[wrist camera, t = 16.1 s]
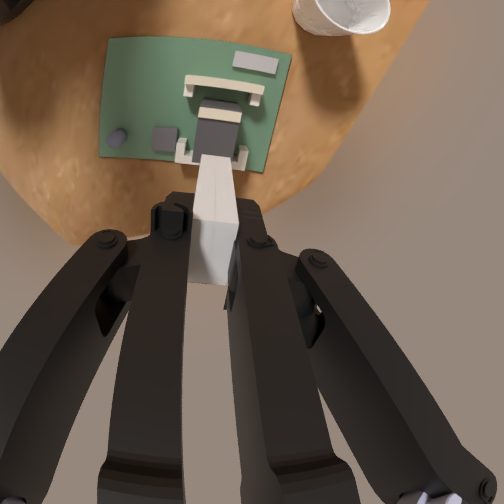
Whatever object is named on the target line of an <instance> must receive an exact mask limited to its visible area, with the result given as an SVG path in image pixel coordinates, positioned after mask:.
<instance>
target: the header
mask: <svg viewBox="0 0 504 504" xmlns="http://www.w3.org/2000/svg"><path fill="white" fill-rule="evenodd" d="M184 84H185V88H184V94H183V96H188V97H193V96H194V93H195V87H196V85H202V86H211V87H218V88H226V89H232V90H239V91H245V92H250V94H249V99H248V103H249V104H250V105H254V106H259V103H260V99H261V95H263V92H264V88H265V86H262V85H259V84H254V83H248V82H243V81H237V80H230V79H223V78H216V77H208V76H199V75H186V76H185V82H184ZM186 146H187V138H179V139H178V141H177V145H176V154H175V163H183V164H193V165H200V163H194V162H192V156H193V150H186ZM247 157H248V149H247V146H243V145H239V146H238V151H237V156H234V155H233V158H232V163H231V168H232V169H234V170H241V171H245V166H246V161H247Z"/></svg>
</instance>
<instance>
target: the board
mask: <svg viewBox="0 0 504 504" xmlns="http://www.w3.org/2000/svg"><path fill="white" fill-rule="evenodd" d="M291 57H292V55H289V54H285V53H281V52H277V51H273V50H269V49H264V48H259V47H254V46H249V45H243V44H237V43H231V42H224V41H216V40H207V39H197V38H183V37H121V38H109V42H108V48H107V54H106V60H105V68H104V76H103V85H102V96H101V109H100V132H99V157H121V158H140V159H154V160H167V161H175V154H176V145H177V141H178V139H179V138H187V146H186V150H193V148H194V141H195V134H196V128H197V121H198V114H199V108H200V104H201V103H202V101H203V99H204V98H209V99H217V100H224V101H231V102H237V103H238V104H239V106H240V108H241V109H242V115H241V120H240V123H239V128H238V133H237V138H236V143H235V148H234V153H233V155H234V156H237V151H238V146H239V145H243V146H247V149H248V157H247V161H246V166H245V170H251V171H258V172H263V169H264V165H265V161H266V157H267V153H268V149H269V145H270V141H271V137H272V133H273V129H274V125H275V120H276V116H277V112H278V108H279V104H280V100H281V96H282V92H283V88H284V84H285V80H286V76H287V72H288V69H289V65H290V61H291ZM186 75H199V76H208V77H216V78H223V79H230V80H237V81H243V82H248V83H254V84H259V85H262V86H265V88H264V92H263V95H261V99H260V103H259V106H254V105H250V104H249V103H248V99H249V94H250V92H245V91H239V90H232V89H226V88H218V87H211V86H202V85H196V87H195V93H194V96H193V97H188V96H183V94H184V88H185V84H184V82H185V76H186Z"/></svg>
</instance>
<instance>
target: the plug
mask: <svg viewBox="0 0 504 504" xmlns="http://www.w3.org/2000/svg"><path fill="white" fill-rule="evenodd" d="M241 115H242V109H241V108H240V106H239V104H238V103H237V102H231V101H224V100H217V99H209V98H204V99H203V101H202V103H201V104H200V108H199V114H198V121H197V128H196V134H195V141H194V148H193V156H192V162H194V163H200V162H201V156H202V154H205V155H213V156H221V157H228V158H230V160H231V163H232V158H233V153H234V148H235V143H236V138H237V133H238V128H239V123H240V120H241Z"/></svg>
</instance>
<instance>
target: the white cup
mask: <svg viewBox="0 0 504 504" xmlns="http://www.w3.org/2000/svg"><path fill="white" fill-rule="evenodd" d="M292 13H293V16H294V18H295V21H296V22H297V23H298V24H299V25H300V26H301V27H302V29H303V30H305V31H307V32H309V33H311V34H314V35H319V36H345V35H363V34H372V33H375V32H377V31H379V30H381V29H382V28H383V27H384V26H385V25H386V24H387V22H388V20H389V17H390V2H389V0H294V2H293V7H292Z"/></svg>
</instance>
